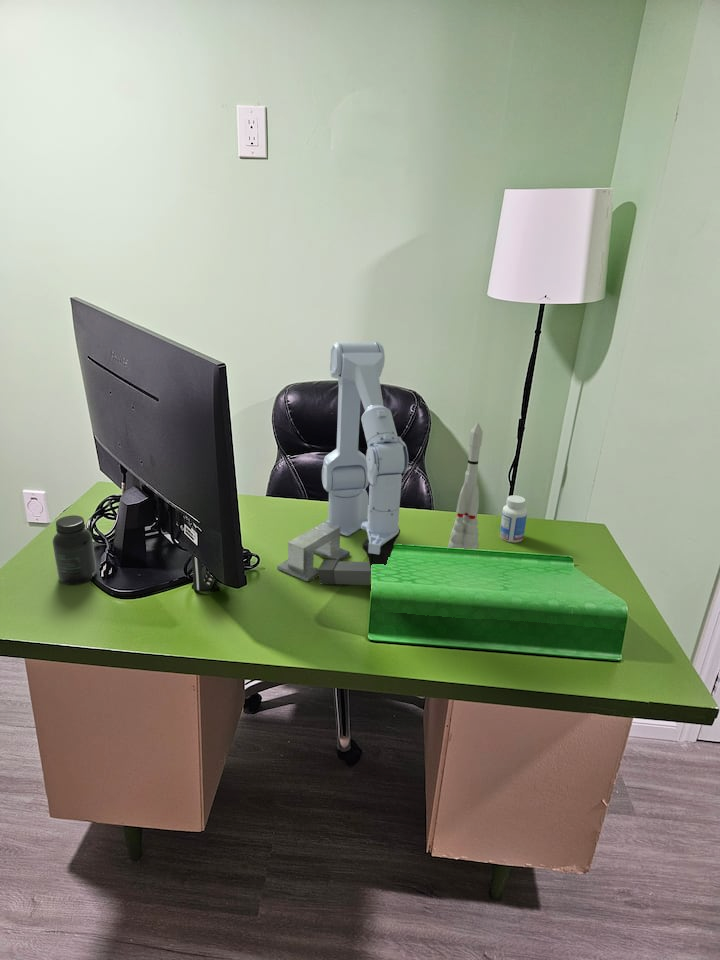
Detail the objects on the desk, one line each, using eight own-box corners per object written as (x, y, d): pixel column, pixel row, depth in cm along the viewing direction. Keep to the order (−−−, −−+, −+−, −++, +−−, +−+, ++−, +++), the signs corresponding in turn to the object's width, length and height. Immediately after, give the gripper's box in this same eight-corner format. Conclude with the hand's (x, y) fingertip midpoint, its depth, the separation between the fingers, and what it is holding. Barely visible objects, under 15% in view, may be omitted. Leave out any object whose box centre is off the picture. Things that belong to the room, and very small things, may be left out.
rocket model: (438, 551, 137) (451, 419, 126) (465, 544, 141) (480, 415, 129) (458, 567, 132) (475, 430, 120) (486, 560, 135) (504, 426, 123)
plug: (325, 573, 127) (323, 559, 126) (401, 575, 123) (400, 560, 122) (320, 584, 123) (317, 569, 122) (397, 586, 119) (396, 571, 118)
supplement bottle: (71, 565, 126) (63, 511, 121) (103, 569, 125) (96, 514, 120) (51, 583, 120) (41, 527, 115) (85, 587, 119) (76, 531, 114)
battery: (213, 593, 119) (210, 539, 115) (193, 591, 119) (189, 538, 115) (222, 573, 125) (220, 522, 121) (203, 572, 126) (200, 520, 121)
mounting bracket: (320, 543, 139) (320, 516, 136) (349, 554, 134) (350, 527, 132) (277, 569, 128) (276, 540, 125) (307, 582, 124) (308, 553, 121)
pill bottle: (523, 534, 147) (529, 495, 143) (523, 544, 142) (529, 505, 138) (499, 530, 148) (505, 492, 144) (498, 541, 143) (504, 501, 139)
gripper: (371, 487, 123) (368, 548, 129) (353, 518, 110) (350, 585, 116) (407, 492, 122) (402, 554, 127) (392, 524, 109) (388, 591, 114)
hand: (380, 569), depth 121 cm, fingers closed on plug, 4 cm apart
